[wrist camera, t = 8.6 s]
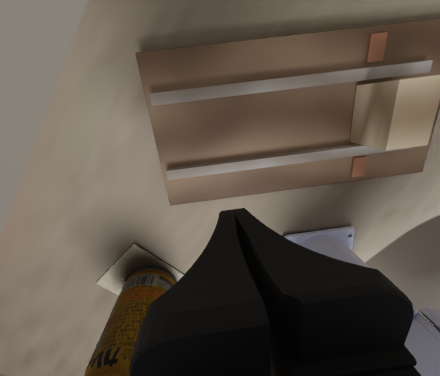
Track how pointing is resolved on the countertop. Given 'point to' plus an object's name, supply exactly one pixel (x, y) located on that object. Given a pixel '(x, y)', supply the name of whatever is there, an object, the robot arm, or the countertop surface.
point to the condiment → (128, 308)
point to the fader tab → (395, 113)
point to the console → (278, 109)
